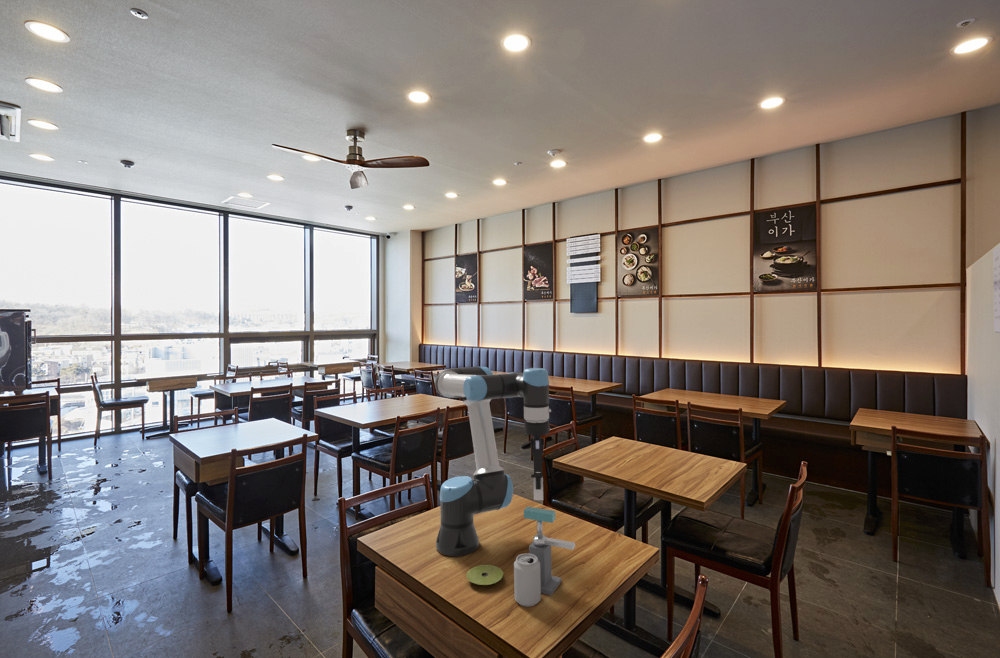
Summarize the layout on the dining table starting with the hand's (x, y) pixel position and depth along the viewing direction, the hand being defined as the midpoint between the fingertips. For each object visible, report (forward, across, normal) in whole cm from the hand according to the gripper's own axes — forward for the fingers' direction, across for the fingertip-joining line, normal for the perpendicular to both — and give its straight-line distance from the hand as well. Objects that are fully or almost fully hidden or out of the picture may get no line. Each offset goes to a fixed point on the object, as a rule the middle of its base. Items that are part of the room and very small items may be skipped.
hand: (538, 491), depth 134 cm
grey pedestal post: (+28, +1, 0) cm, 28 cm away
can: (+29, -7, +4) cm, 30 cm away
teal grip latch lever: (+16, 0, -3) cm, 16 cm away
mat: (+28, +2, +17) cm, 33 cm away
